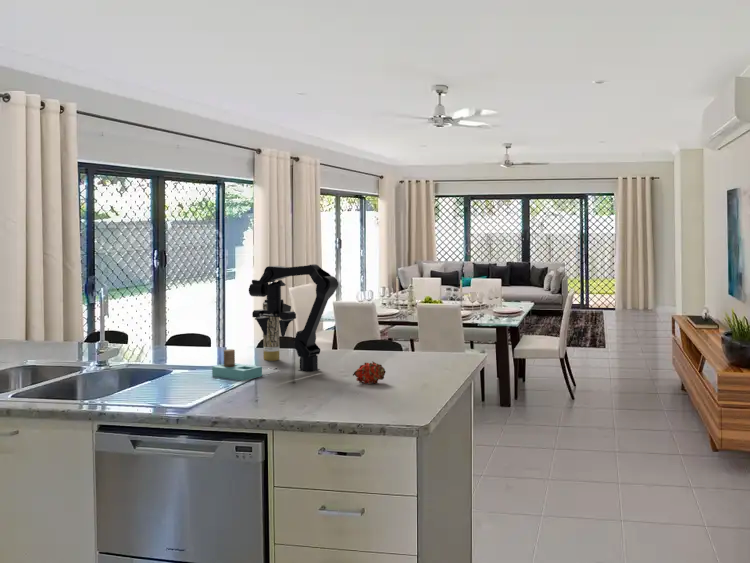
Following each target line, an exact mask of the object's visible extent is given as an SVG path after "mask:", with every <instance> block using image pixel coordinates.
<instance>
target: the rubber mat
mask: <svg viewBox="0 0 750 563" xmlns="http://www.w3.org/2000/svg"><path fill="white" fill-rule="evenodd" d="M278 372H282V370H280V369H272V368H265V367H264V368H263V367H262V376H265V375H269V374H274V373H278Z"/></svg>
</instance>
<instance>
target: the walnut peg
mask: <svg viewBox="0 0 750 563" xmlns="http://www.w3.org/2000/svg"><path fill="white" fill-rule="evenodd" d="M235 350H236V349H233V348H231V349H224V350H223V364H224V367H234V366H235V363H236V359H235V358H236V357H235V354H236V351H235Z"/></svg>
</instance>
